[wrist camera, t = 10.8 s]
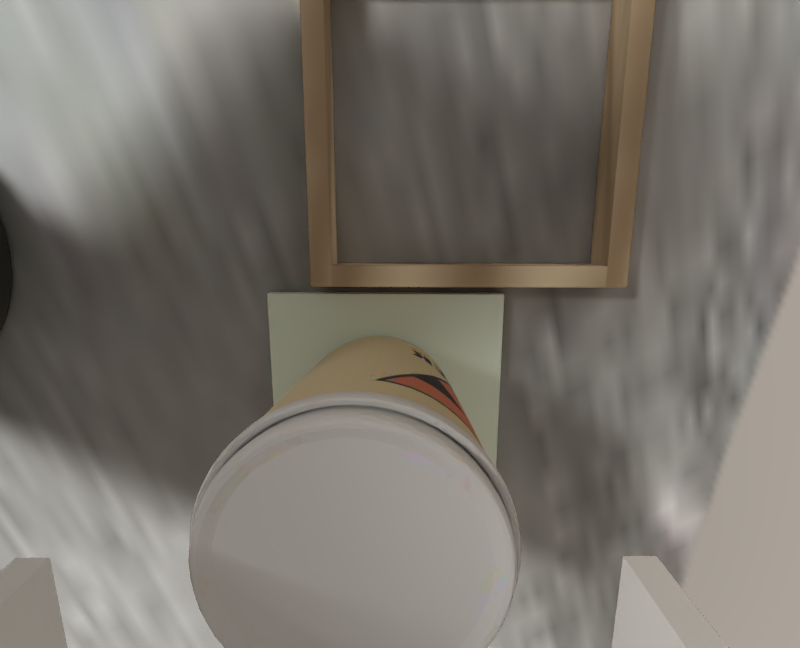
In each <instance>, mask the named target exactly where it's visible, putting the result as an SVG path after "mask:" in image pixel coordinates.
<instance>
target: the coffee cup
mask: <svg viewBox="0 0 800 648" xmlns="http://www.w3.org/2000/svg"><path fill="white" fill-rule="evenodd" d="M520 561H521V537H520V529H519V524H518V518H517V513H516V510H515V507H514V504H513V500H512V497H511V495H510V493H509V491H508V488H507V486H506V484H505V482H504V480H503V478H502V477H501V475H500V473H499V472H498V470H497V468H496V467H495V465H494V464H493V462H492V460H491V459H490V458H489V457H488V455H487V454H486V453H485V451H484V449H483V447H482V445H481V443H480V441H479V439H478V437H477V435H476V433H475V431H474V429H473V427H472V425H471V423H470V421H469V419H468V418H467V416H466V414H465V412H464V410H463V408H462V406H461V404H460V402H459V400H458V399H457V397H456V395H455V393H454V391H453V389H452V387H451V385H450V383H449V382H448V380H447V378H446V376H445V375H444V373H443V371H442V370H441V369H440V367H439V366H438V365H437V363H436V362H435V361H434V360H433V359H432V358H431V357H430V356H429V355H428V354H427V353H426V352H425V351H423V350H422V349H420V348H419V347H417V346H415V345H414V344H412V343H409V342H407V341H405V340H402V339H399V338H394V337H388V336H368V337H363V338H358V339H355V340H353V341H350V342H347V343H345V344H343V345H341V346H340V347H338V348H336V349H335V350H334V351H332V352H331V353H329V354H328V355H327V356H326V357H325V358H323V359H322V360H321V361H320V362H319V363H318V364H317V365H316V366H315V367H314V368H313V369H312V370H311V371H309V372H308V373H307V374H306V375H305V376H304V377H303V378H302V379H301V380H300V381H299V382H298V383H297V384H296V385H295V386H294V387H293V388H292V389H291V390H290V391H288V392H287V393H286V394H285V395H284V396H283V397H282V398H281V399H280V400H279V401H278V402H277V403H276V404H275V405H274V406H273V407H272V408H271V409H270V410H269V411H268V412H267V413H266V414H265V415H264V416H263V417H262V418H260V419H259V420H257V421H256V422H254V423H253V424H251V425H250V426H249V427H248V428H246V429H245V430H244V431H243V432H242V433H241V434H239V435H238V436H237V437H236V438H235V439H234V440H233V441H232V442H231V443H230V444H229V445H228V446H227V447H226V448H225V449H224V450H223V451H222V453H221V454H220V455H219V457H218V458H217V459H216V461H215V462H214V464H213V465H212V467H211V468H210V470H209V472H208V474H207V476H206V477H205V479H204V481H203V483H202V485H201V488H200V490H199V493H198V495H197V497H196V501H195V505H194V508H193V512H192V518H191V525H190V545H189V568H190V578H191V582H192V587H193V591H194V594H195V597H196V600H197V603H198V606H199V609H200V611H201V613H202V615H203V616H204V618H205V620H206V622H207V624H208V626H209V627H210V629H211V631H212V632H213V634H214V636H215V637H216V638H217V639H218V640H219V642H220V643H221V644H222V645H223V646H224V648H487V647H488V646H489V644H490V643H491V642H492V641H493V639H494V638H495V636H496V634H497V633H498V631H499V629H500V627H501V626H502V624H503V622H504V619H505V617H506V615H507V612H508V609H509V606H510V604H511V601H512V598H513V593H514V590H515V586H516V583H517V580H518V574H519V569H520Z"/></svg>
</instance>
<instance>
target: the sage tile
mask: <svg viewBox="0 0 800 648" xmlns="http://www.w3.org/2000/svg"><path fill="white" fill-rule="evenodd" d="M267 302H268V319H269V336H270V354H271V371H272V389H273V406H274V405H275V404H276V403H277V402H278V401H279V400H280V399H281V398H282V397H283V396H284V395H285V394H286V393H287V392H288V391H290V390H291V389H292V388H293V387H294V386H295V385H296V384H297V383H298V382H299V381H300V380H301V379H302V378H303V377H304V376H305V375H306V374H307V373H308V372H309V371H311V370H312V369H313V368H314V367H315V366H316V365H317V364H318V363H319V362H320V361H321V360H322V359H323V358H325V357H326V356H327V355H328V354H329V353H331V352H332V351H334V350H335V349H336V348H338V347H340V346H341V345H343V344H345V343H347V342H350V341H353V340H355V339H358V338H363V337H368V336H388V337H394V338H399V339H402V340H405V341H407V342H409V343H412V344H414V345H415V346H417V347H419V348H420V349H422V350H423V351H425V352H426V353H427V354H428V355H429V356H430V357H431V358H432V359H433V360H434V361H435V362H436V363H437V365H438V366H439V367H440V369H441V370H442V371H443V373H444V375H445V376H446V378H447V380H448V382H449V383H450V385H451V387H452V389H453V391H454V393H455V395H456V397H457V399H458V400H459V402H460V404H461V406H462V408H463V410H464V412H465V414H466V416H467V418H468V419H469V421H470V423H471V425H472V427H473V429H474V431H475V433H476V435H477V437H478V439H479V441H480V443H481V445H482V447H483V449H484V451H485V453H486V454H487V455H488V457H489V458H490V459H491V460H492V462H493V464H494V465H495V467H496V460H497V439H498V417H499V396H500V375H501V353H502V332H503V310H504V294H502V293H467V292H270V293H268V294H267Z"/></svg>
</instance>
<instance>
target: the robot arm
mask: <svg viewBox="0 0 800 648" xmlns="http://www.w3.org/2000/svg"><path fill="white" fill-rule="evenodd" d="M10 293H11V262H10V254H9V249H8V244H7V240H6V236H5V233H4V229H3V227H2V224H1V221H0V329H1V327H2V325H3V322H4V320H5V317H6V313H7V310H8V306H9V300H10ZM0 648H67V643H66V638H65V633H64V628H63V623H62V618H61V613H60V607H59V602H58V597H57V592H56V587H55V582H54V577H53V571H52V566H51V561H50V558H16V559H14V560H13V561H12V562H11V563H10V564H9V565H7V566H6V567H5V568H4V569H3V570H2V571H1V572H0ZM612 648H728V646H727V645H726V644H725V643H724V641H723V640H722V639H721V638H720V636H719V635H718V634H717V632H716V631H715V630H714V628H713V627H712V626H711V625H710V624H709V622H708V621H707V620H706V618H705V617H704V616H703V615H702V613H701V612H700V611H699V609H697V607H696V606H695V605H694V603H693V602H692V601H691V599H690V598H689V597H688V596H687V594H686V593H685V592H684V590H683V589H682V588H681V587H680V585H679V584H678V583H677V582H676V580H675V579H674V578H673V576H672V575H671V574H670V573H669V571H668V570H667V569H666V568H665V566H664V565H663V564H662V563H661V561H660V560H659V559H658V557H657V556H623V561H622V569H621V577H620V585H619V593H618V601H617V609H616V617H615V625H614V633H613V640H612Z"/></svg>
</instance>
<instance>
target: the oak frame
mask: <svg viewBox="0 0 800 648" xmlns="http://www.w3.org/2000/svg"><path fill="white" fill-rule="evenodd" d="M655 3H656V0H612V8H611V20H610V32H609V44H608V56H607V68H606V80H605V92H604V104H603V116H602V128H601V140H600V152H599V164H598V176H597V188H596V200H595V212H594V224H593V236H592V248H591V260H590V264H444V263H337V225H336V187H335V148H334V110H333V72H332V34H331V0H300V19H301V45H302V71H303V97H304V123H305V150H306V176H307V202H308V228H309V255H310V281H311V287H583V288H627V282H628V272H629V262H630V252H631V242H632V232H633V222H634V212H635V202H636V192H637V182H638V172H639V162H640V152H641V142H642V132H643V122H644V112H645V103H646V93H647V83H648V73H649V63H650V53H651V43H652V33H653V23H654V13H655Z"/></svg>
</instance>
